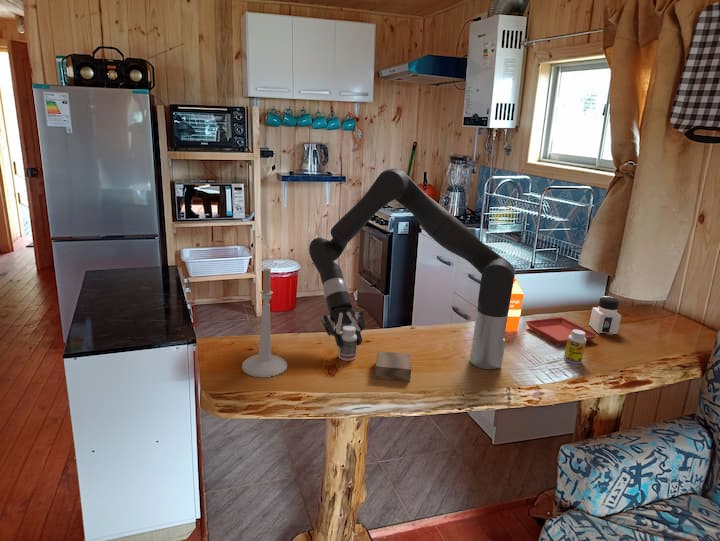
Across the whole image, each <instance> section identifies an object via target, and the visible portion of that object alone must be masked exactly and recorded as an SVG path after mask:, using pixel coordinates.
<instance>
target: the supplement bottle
mask: <svg viewBox="0 0 720 541" xmlns="http://www.w3.org/2000/svg"><path fill="white" fill-rule="evenodd" d="M586 345H587V342H586V338H585V332H584V331H581V330H576V329H575V330H572V334H571V335H569V336H568V340H567V344H566V346H565V350H564V354H563V355H564V356H563V358H564V360H565V361H566V362H568V363H571V364H573V365H577V364H578V365H579V364H581V363H582V362H583V359H584V353H585V349H586Z"/></svg>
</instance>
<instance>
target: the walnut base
mask: <svg viewBox="0 0 720 541" xmlns="http://www.w3.org/2000/svg"><path fill="white" fill-rule="evenodd" d="M375 358H376V359H375V370H374V371H375V372H374V380H384V381H395V382H405V383H406V382H407V383H410V382H411V374H412V362H411V361H412V358H411V353H406V352H405V353H404V352H393V351H383V350H380V351H379V350H377V351H376V356H375Z"/></svg>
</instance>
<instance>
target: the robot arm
mask: <svg viewBox="0 0 720 541" xmlns="http://www.w3.org/2000/svg"><path fill="white" fill-rule="evenodd" d="M393 201H396V202H397V203H399V204H400V205H402V206H403V207H404V208H405V209H407V210H408V211H409V212H410V213H411V214H412V215H413V217H414V218H415V219H416V221H417V222H418V224H419V225H420V226H421V228H422V229H423V230H424V231H425V232H426V234H427V235H428V236H429V237H430V238H432V239H433V240H434V241H435V242H436V243H437V244H438V245H440V246H441V247H443V248H444V249H445V250H447V251H449V252H450V253H452V254H454V255H455V256H458V257H460V258H462V259H464V260H465V261H467V262H468V263H470V264H471V265H472V266H473V267H474V268H475V269H476V270H477V272H478V273H480V275H481V277H480V284H479V289H478V292H479V293H478V298H477V308H476V309H477V310H476V317H475V322H474V329H473V336H472V343H471V349H470V355H469V362H470V363H471V364H472V365H473V366H475V367H477V368H479V369H483V370H496V369H502V364H503V358H504V352H505V346H506V342H507V341H506V337H505V335H506V332H505V330H506V324H507V318H508V312H509V307H510V300H511V294H512V288H513V282H514V278H515V276H516V275H515V274H516V273H515V269H514V266H513V264H512V263H511V262H510V261H508V260H507V259H506V258H504V257H503V256H501V255H500V254H498V253H497V252H495V251H494V250H493V249H492V248H490V247H488V246H487V245H486V244H485V243H484V242H482V241H481V240H480V238H478V237H477V235H475V234H474V233H473V232H472V231H471V230H470V229H469V228H468V227H467V226H466V225H465V224H463V222H461V221H460V219H458V218H457V217H456V216H454V214H452V213H451V212H450V211H448V210H447V209H446V208H444V207H443V206H442V204H441V205H440V204H439V203H438V202H437V201H436V200H435V199H433V198H432V197H430V196H429V195H427V194H426V193H425V192H424V191H423V189H421V188H420V187H419V186H418V185H417V184H416V182H414V180H413V179H412V178H411V177H410V176H409V175H408V174H407V173H406V172H405V171H403V170H402V169H399V168H389V169H386V170H383V171H382V172H380V174H378V176H377V177H376V179H375V180H374V182H373V183H372V185H371V186H370V187H369V189H367V192H366V193H365V194H364V196H363V197H362V198H360V200H359V201H358V202H357V203H356V204H355V205H354V206H353V207H352V208H351V209H350V210H348V212H346V213H345V214H344V215H343V216H342V217H341V218H340V219H339V220H338V221H337V222H336V223H335V224H334V225H333V227H332V228H331V229H330V235H331V237H332V238H331V239H330V240H329V239H326V238H322V237H315V238H314V239H313V240H312V241H310V243H309V249H308V251H309V252H308V253H309V256H310V259H311V261H312V263H313V265H314V266H315V268H316V269H317V272H318V273H319V276H320V280H321V284H322V289H323V294H324V295H323V297H324V298H325V303H326V306H327V310H328V313H329V314H328V315H326V314H324V315H323V316H322V318H320V321H321V323H322V325H323V327H324V329H325V331H326V334H327V335H328V336H329V337H330V336H333V337H334V340H335V343H336V346H337V347H338V349H339V348H342V347H343V346H344V344H343V340H342V337H341V327H342V328H343V327H344V326H354V327H355V328H356V332H355V334H356V335H357V346H360V345H362V343H363V338H362V334H361V333H362V332H363V330H364V329H365V328H366V324H365V316H364V311H363V310H361V311H359V312H358V311H355V310H354V308H353V304H352V301H351V297H350V294H349V290H348V286H347V284H346V281H345V278H344V276H343V271H342V268H341V266H340V264H338V263H336V262H335V261H337V260H338V259H339V258H340V257H341V255H342V254H343V252H344V251H345V249H346V247H347V245H348V244H349V243H350V242H351V241H352V239H353V238H354V237H355V236H357V235H358V234H359V233H360V232H361V230H362V229H363V228H365V226H366V225H367V224H368V222H369V221H370V220H371V218H373V216H374V215H375V214H376V213H377V212H379V211H380V210H382V208H383V207H385V206H387V205H388V204H390V203H391V202H393ZM354 318H355V319H356V320H355V319H354ZM331 322H333V323H334V325H333V326H332V324H331ZM357 346H356V347H357Z"/></svg>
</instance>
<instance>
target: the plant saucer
mask: <svg viewBox="0 0 720 541" xmlns="http://www.w3.org/2000/svg"><path fill="white" fill-rule="evenodd" d="M525 324H526V326H527V327H528V328H529V330H531V331H532V330H533V331H532V332H534V333H536V334H537V333H538V334H537V335H539V334H540V335H539V336H541V337H543V338H545V339H546V340H548V341H550V342H552V344H555V345H556V346H564V345H567V340H568V336H569V335H571V334H572V330H575V329H576V330H581V331H584V332H585V338H586V341H588V342H590V341H593V339H595V338H596V337H598V333H597V334H596V333H595V332H592V331H591V330H588V329H586V328H584V327H582V326H580V325H579V324H577V323H574V322H573V321H570V320H568V319H567V318H565V317H561V316H560V317H552V318H550V317H549V318H541V319H534V320H526V321H525Z"/></svg>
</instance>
